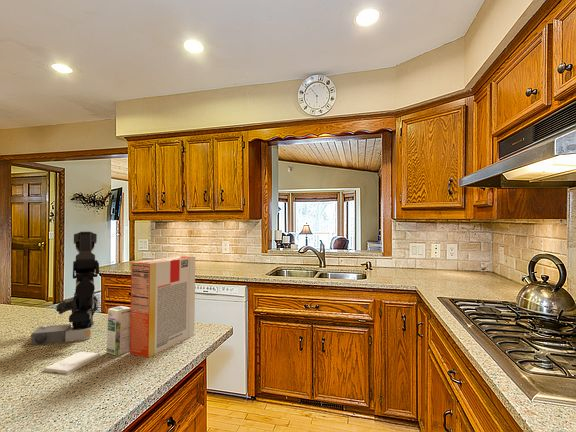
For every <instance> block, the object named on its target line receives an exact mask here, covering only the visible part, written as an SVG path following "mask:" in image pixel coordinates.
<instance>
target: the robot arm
mask: <svg viewBox="0 0 576 432" xmlns="http://www.w3.org/2000/svg"><path fill="white" fill-rule="evenodd" d="M97 236H98V235H97V233H94V232H93V231H80V232H77V233H73V244H74V245H75V250H76V251H77V252H78V253H77V254H76V255H75V260H74V261H73V262H72V279H75V289H74V290H75V292H74V294H73V297H72V298H70V299H67V300H63V301H62V302H59V303H58V304H57V305H56V306H55V308H56V310H55V311H56V312H58V314H59V315H62V314H64V313H65V312H68V311H71V314H70V315H69V317H68V322H69V323H72V324H71V330H79V329H86V328H90V329H91V328H92V327H93V325H94V324H95V322H94V314H95V312H96V311H97V310H98V305H99V304H98V303H99V301H98V298H97V296H95V293H96V292H95V289H96V288H95V278H98V275H99V274H100V262H99V261H98V260H97V259H96V254H94V253H93V251H94V250H95V244H97V242H98V241H97V239H98V237H97Z"/></svg>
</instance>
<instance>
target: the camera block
mask: <svg viewBox="0 0 576 432" xmlns="http://www.w3.org/2000/svg"><path fill="white" fill-rule="evenodd" d="M63 331H72V324H70V323H69V324H59V325H58V324H57V325H56V324H55V325H41V326H39V327H38V328H36V329H35V330H34V331H32V332H30V333H31V334H30V346H36V345H44V344H55V343H56V344H58V343H63V342H62V333H63Z"/></svg>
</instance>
